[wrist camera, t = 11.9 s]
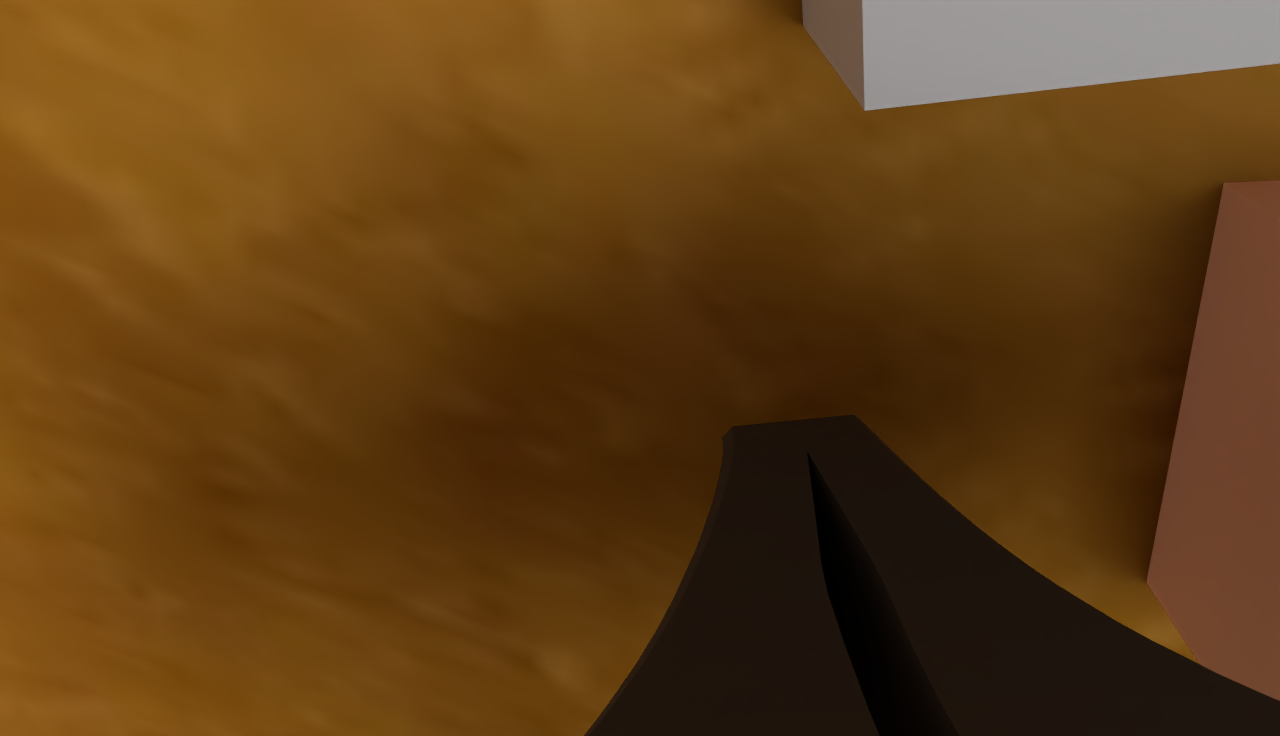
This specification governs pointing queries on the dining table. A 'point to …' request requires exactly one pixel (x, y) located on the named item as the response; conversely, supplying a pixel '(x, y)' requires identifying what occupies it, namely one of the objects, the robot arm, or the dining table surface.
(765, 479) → the robot arm
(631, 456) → the dining table surface
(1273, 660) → the block
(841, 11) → the bay
